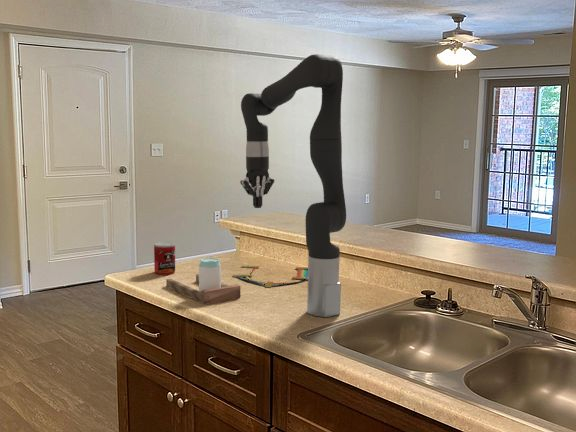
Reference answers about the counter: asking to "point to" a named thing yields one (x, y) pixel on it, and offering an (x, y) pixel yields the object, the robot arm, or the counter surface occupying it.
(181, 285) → the channel
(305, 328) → the counter surface
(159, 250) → the canned food
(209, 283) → the can
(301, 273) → the ribbon cable
